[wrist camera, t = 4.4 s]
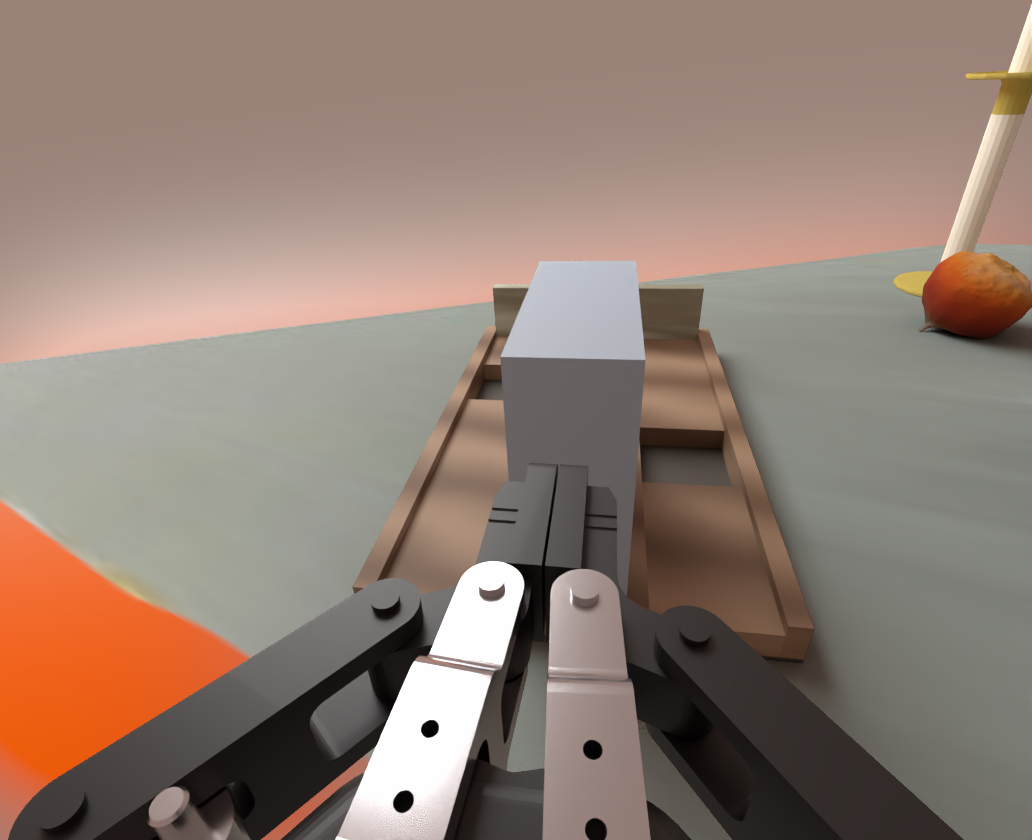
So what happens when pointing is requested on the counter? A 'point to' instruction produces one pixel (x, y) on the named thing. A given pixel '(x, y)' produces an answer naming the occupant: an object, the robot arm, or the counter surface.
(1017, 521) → the counter surface
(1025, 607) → the counter surface
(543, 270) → the block
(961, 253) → the fruit
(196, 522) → the counter surface
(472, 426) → the lane
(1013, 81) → the candle
